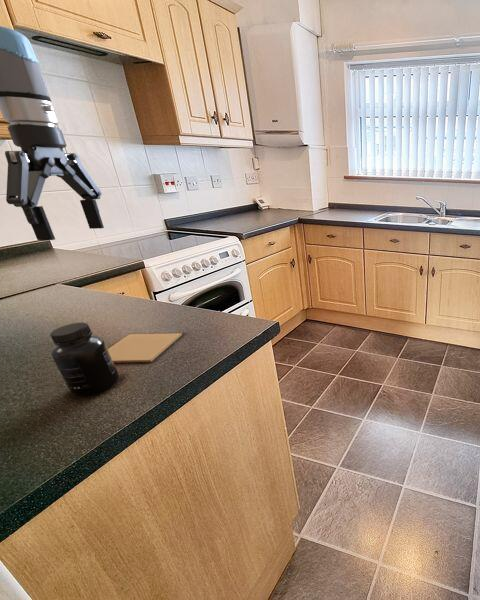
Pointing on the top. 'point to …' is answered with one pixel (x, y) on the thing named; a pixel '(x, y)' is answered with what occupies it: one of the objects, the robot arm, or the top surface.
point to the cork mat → (141, 347)
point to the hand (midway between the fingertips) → (74, 233)
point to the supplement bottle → (83, 360)
